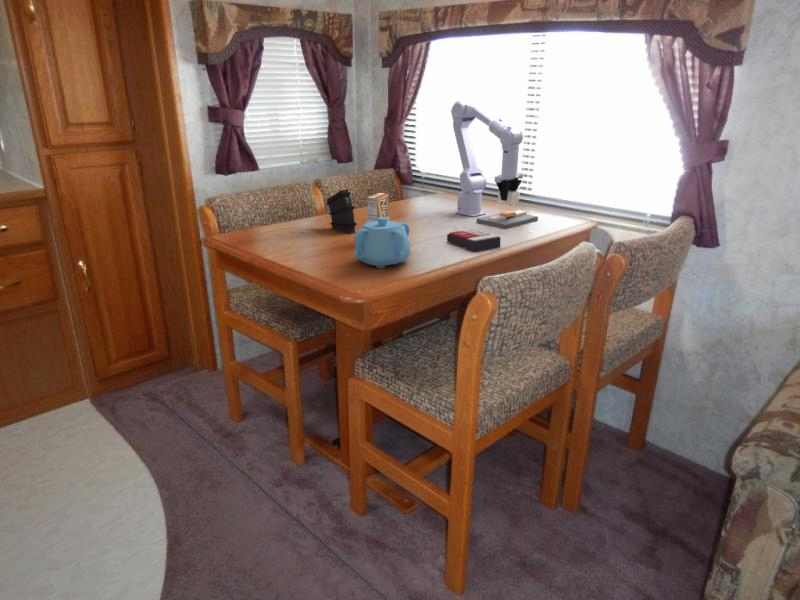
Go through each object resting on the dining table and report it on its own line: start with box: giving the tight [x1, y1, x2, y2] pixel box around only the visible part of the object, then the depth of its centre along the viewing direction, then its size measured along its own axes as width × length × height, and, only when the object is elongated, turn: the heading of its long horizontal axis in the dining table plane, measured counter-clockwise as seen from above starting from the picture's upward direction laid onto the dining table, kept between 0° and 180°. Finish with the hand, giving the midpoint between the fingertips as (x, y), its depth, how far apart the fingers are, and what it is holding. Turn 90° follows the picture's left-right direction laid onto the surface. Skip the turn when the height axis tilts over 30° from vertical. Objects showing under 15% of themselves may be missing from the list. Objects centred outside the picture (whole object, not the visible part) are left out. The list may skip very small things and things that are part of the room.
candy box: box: [366, 192, 390, 222], centre depth 192 cm, size 9×4×15 cm, turn 156°
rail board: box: [476, 210, 539, 230], centre depth 219 cm, size 14×20×3 cm
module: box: [497, 190, 519, 207], centre depth 215 cm, size 6×4×5 cm, turn 42°
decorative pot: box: [353, 217, 412, 269], centre depth 168 cm, size 16×16×14 cm
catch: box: [500, 210, 516, 217], centre depth 218 cm, size 3×6×1 cm, turn 132°
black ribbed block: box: [326, 188, 357, 235], centre depth 206 cm, size 4×13×15 cm, turn 40°
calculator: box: [446, 228, 501, 253], centre depth 188 cm, size 11×4×15 cm
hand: (507, 199), depth 216 cm, fingers closed on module, 4 cm apart
